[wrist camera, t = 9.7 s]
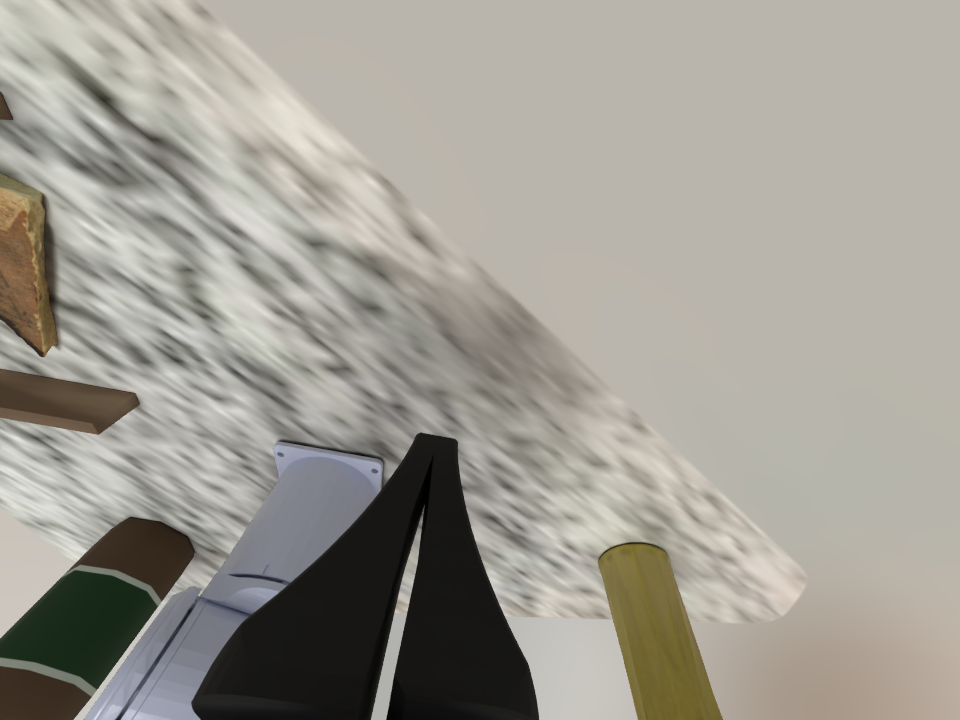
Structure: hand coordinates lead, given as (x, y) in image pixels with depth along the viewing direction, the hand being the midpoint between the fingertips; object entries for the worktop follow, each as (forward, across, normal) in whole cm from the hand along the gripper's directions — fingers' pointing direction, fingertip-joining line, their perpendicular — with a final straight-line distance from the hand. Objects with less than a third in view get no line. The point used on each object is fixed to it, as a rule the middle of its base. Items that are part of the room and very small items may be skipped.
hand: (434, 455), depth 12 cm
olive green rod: (+10, -19, +20) cm, 29 cm away
